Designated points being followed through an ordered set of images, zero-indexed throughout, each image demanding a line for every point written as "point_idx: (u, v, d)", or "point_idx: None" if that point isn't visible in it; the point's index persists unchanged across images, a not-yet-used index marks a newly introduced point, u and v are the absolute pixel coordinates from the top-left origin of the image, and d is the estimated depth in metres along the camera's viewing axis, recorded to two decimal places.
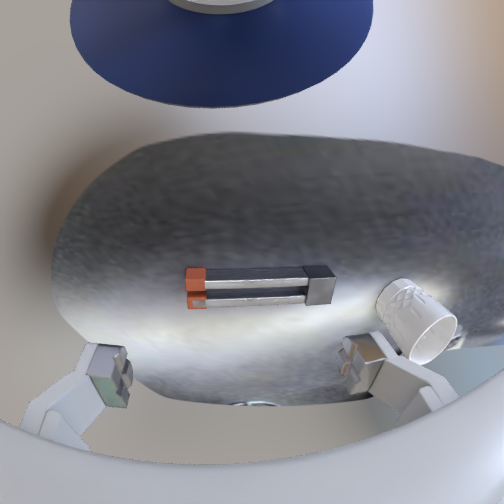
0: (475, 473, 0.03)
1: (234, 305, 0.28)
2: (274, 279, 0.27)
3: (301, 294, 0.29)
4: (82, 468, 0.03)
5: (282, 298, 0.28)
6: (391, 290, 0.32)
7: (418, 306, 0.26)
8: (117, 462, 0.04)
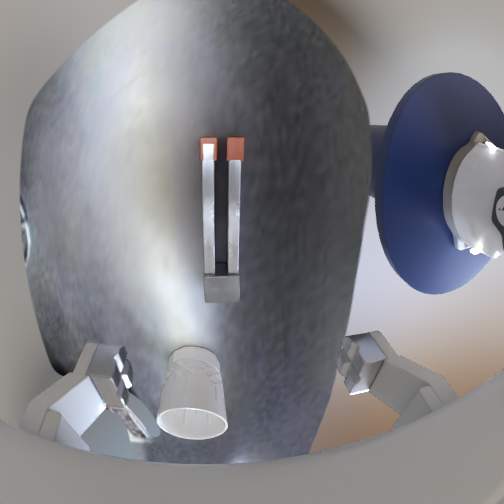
0: (475, 473, 0.03)
1: (204, 194, 0.22)
2: (238, 237, 0.24)
3: (215, 268, 0.26)
4: (82, 468, 0.03)
5: (212, 249, 0.24)
6: (210, 358, 0.32)
7: (219, 393, 0.27)
8: (117, 462, 0.04)
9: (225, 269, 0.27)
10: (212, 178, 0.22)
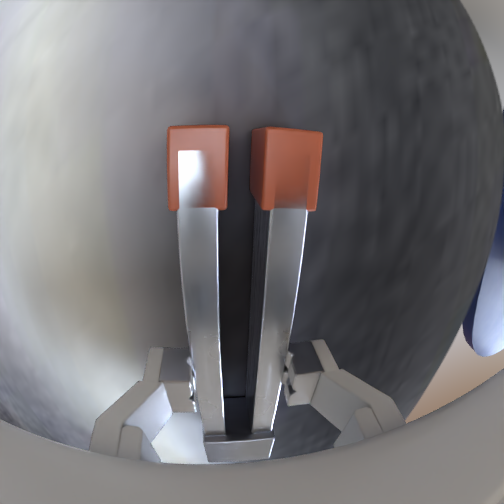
0: (476, 473, 0.03)
1: (190, 312, 0.07)
2: (279, 389, 0.09)
3: None
4: (82, 468, 0.03)
5: (218, 408, 0.09)
6: None
7: None
8: (117, 462, 0.04)
9: (244, 419, 0.11)
10: (213, 268, 0.07)
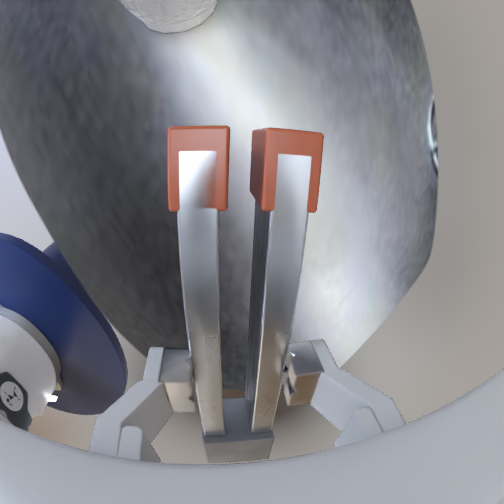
0: (476, 472, 0.03)
1: (190, 313, 0.07)
2: (278, 390, 0.09)
3: None
4: (82, 468, 0.03)
5: (218, 409, 0.09)
6: (156, 27, 0.14)
7: (124, 1, 0.09)
8: (117, 462, 0.04)
9: (244, 419, 0.11)
10: (213, 269, 0.07)
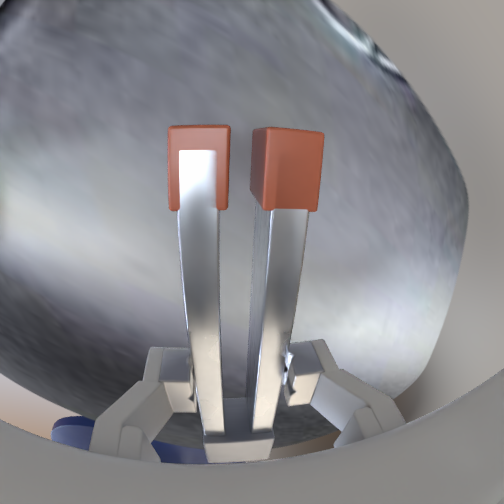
0: (475, 473, 0.03)
1: (190, 313, 0.07)
2: (279, 390, 0.09)
3: None
4: (82, 468, 0.03)
5: (218, 409, 0.09)
6: None
7: None
8: (117, 462, 0.04)
9: (244, 419, 0.11)
10: (213, 268, 0.07)
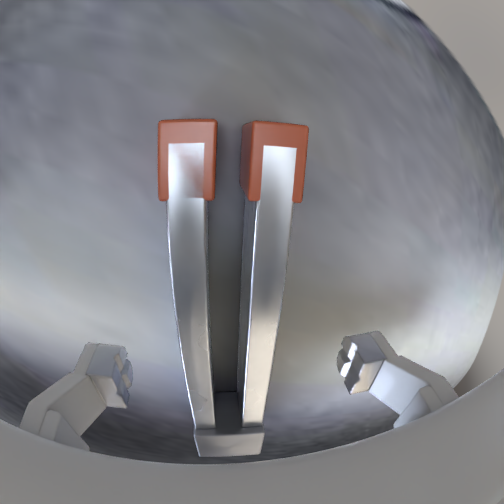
0: (476, 472, 0.03)
1: (178, 301, 0.07)
2: (268, 382, 0.10)
3: (215, 420, 0.11)
4: (82, 468, 0.03)
5: (207, 400, 0.10)
6: None
7: None
8: (117, 462, 0.04)
9: (235, 413, 0.12)
10: (201, 257, 0.07)
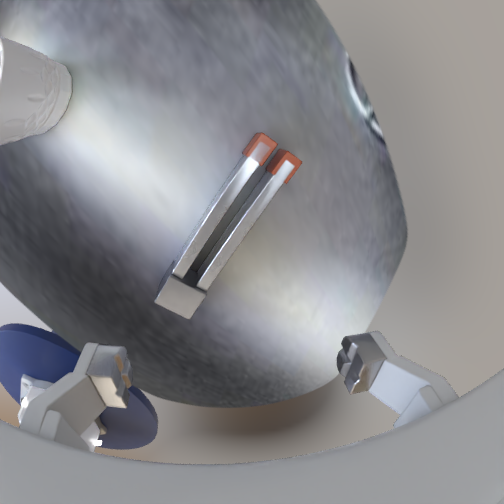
0: (476, 472, 0.03)
1: (225, 192, 0.18)
2: (229, 256, 0.21)
3: (185, 273, 0.21)
4: (82, 468, 0.03)
5: (196, 252, 0.20)
6: None
7: None
8: (117, 462, 0.04)
9: (193, 279, 0.22)
10: (245, 181, 0.18)
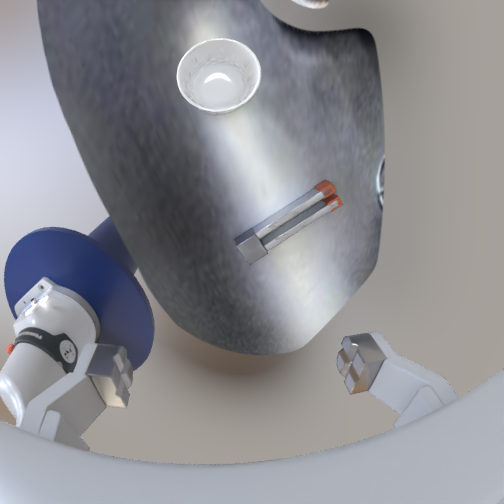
0: (476, 472, 0.03)
1: (303, 203, 0.35)
2: (289, 236, 0.37)
3: (261, 237, 0.37)
4: (82, 468, 0.03)
5: (274, 227, 0.36)
6: None
7: None
8: (117, 462, 0.04)
9: (261, 242, 0.38)
10: (314, 202, 0.35)
